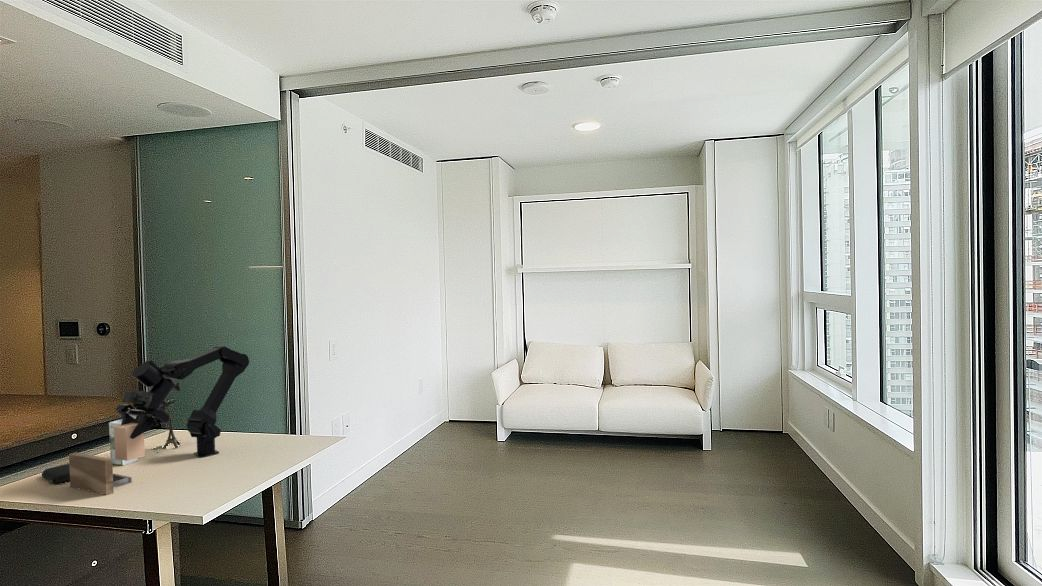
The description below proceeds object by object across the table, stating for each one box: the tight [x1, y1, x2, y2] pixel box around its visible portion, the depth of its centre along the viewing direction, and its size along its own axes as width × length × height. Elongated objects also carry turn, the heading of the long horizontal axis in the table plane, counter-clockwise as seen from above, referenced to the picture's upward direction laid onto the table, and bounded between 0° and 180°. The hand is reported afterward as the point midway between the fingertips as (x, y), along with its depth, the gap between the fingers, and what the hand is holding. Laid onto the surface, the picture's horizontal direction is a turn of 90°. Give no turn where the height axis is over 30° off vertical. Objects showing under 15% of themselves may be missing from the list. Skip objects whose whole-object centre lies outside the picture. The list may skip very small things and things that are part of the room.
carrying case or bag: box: [41, 463, 70, 485], centre depth 188 cm, size 11×3×15 cm
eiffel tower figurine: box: [151, 412, 181, 451], centre depth 220 cm, size 15×10×13 cm
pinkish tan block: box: [114, 423, 146, 461], centre depth 185 cm, size 6×6×10 cm
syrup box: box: [108, 418, 139, 466], centre depth 202 cm, size 6×6×14 cm
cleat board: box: [68, 451, 133, 496], centre depth 179 cm, size 10×18×10 cm, turn 65°
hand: (124, 437), depth 183 cm, fingers closed on pinkish tan block, 6 cm apart
